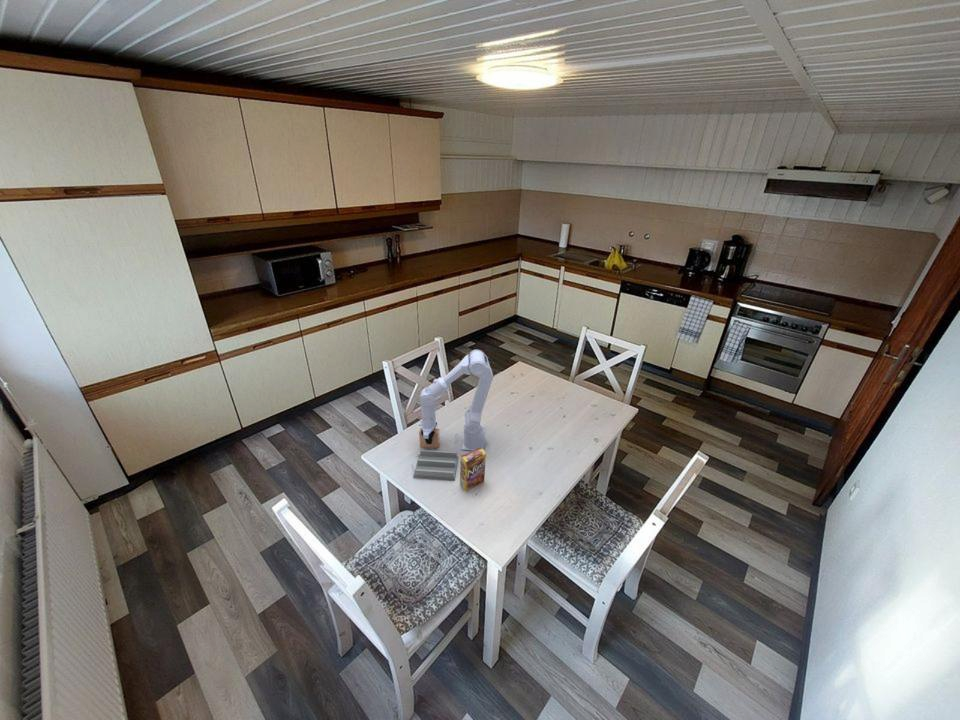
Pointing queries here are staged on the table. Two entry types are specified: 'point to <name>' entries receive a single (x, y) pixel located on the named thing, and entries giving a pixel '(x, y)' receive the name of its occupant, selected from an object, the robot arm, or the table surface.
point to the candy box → (472, 468)
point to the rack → (436, 465)
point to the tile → (434, 441)
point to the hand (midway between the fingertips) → (429, 440)
